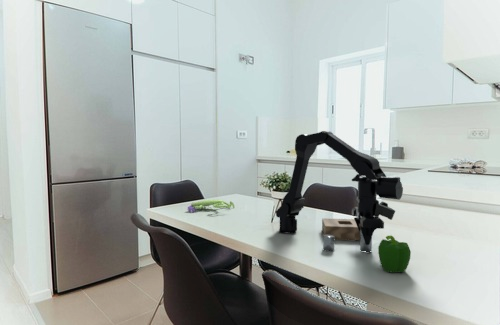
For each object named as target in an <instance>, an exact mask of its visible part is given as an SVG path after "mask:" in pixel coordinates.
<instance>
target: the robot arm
mask: <svg viewBox="0 0 500 325" xmlns="http://www.w3.org/2000/svg"><path fill="white" fill-rule="evenodd" d="M324 144H325V146H328V147H329V148H331V149H332V150H333V151H335V152H336V153H337V154H339V155H340V156H341V157H342V158H344V159H345V160H346V161H347V162H348V163H349V164H350V166H351V168H352V169H353V171H355V172H356V175H355V176H354V177H353V178H352V179H351V181H352V182H357V197H356V198H355V199H356V202H357V206H354V207H352V208H351V216H353V219H354V220H355V222H356V224H357V227H358V230H359V232H360V229H361V232H362V235H363V238H364V241H365V244H366V245H369V244H370V241H371V238H372V239H373V235H374V233H375V231H376V230H377V229H379V230H380V229H385V222H384V220H383V219H381V217H379V216H382V217H384V218H387V219H389V220H390V221H392V220H393V218H394V215H395V213H396V210H395V209H393V208H391V206H388V203H387V202H385V201H381V202H380V201H379V200H378V199H377V196H378V198H382V199H390V200H391V199H392V200H396V201H397V200H401V198H402V197H403V192H404V187H403V184H402V182H401V177H399V176H395V177H390V176H387V175H386V174H385V172H384V171H383V169H382V168H381V166H380V161H379V160H378V159H377V158H375V157H373V156H371V155H368V154H367V153H365V152H364V153H363V152H361V151H359V150H357V149H355V148H354V147H352V146H351V145H349V143H346V142H345V141H344V140H342V139H341V138H339V136H337V135H334V133H333V132H332V131H329V130H321V131H319V132H316V133H310V134H304V133H303V134H302V133H301V134H299V135H297V136H296V137H295V142H294V150H295V155H296V158H295V162H294V166H293V167H294V168H293V170H292V171H293V172H292V175H291V180H290V184H289V188H288V191H287V192H286V194H285V195H284V196H283V198H282V201H281V203H280V206H279V207H278V208H277V210H276V211H275V216H276V218H279V231H278V233H279V234H296V233H297V232H296V231H297V230H298V219H296V216H299V215H300V212H301V211H302V209H304V204H305V201H306V198H305V197H303V195H302V191H303V187H304V183H305V182H304V181H305V179H306V173H307V170H308V165H309V161H310V159H311V157H312V156H313V155H314V153H315V152H316V149H317V147H318V146H321V145H324Z"/></svg>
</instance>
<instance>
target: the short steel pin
mask: <svg viewBox="0 0 500 325" xmlns="http://www.w3.org/2000/svg"><path fill="white" fill-rule="evenodd" d="M322 242H323V243H322V246H323V247H322V250H323V249H324V250H323V251H325V250H326V251H325V252H334V251H335V240H334V236H333V235H324V234H323V240H322ZM333 250H334V251H333Z"/></svg>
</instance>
